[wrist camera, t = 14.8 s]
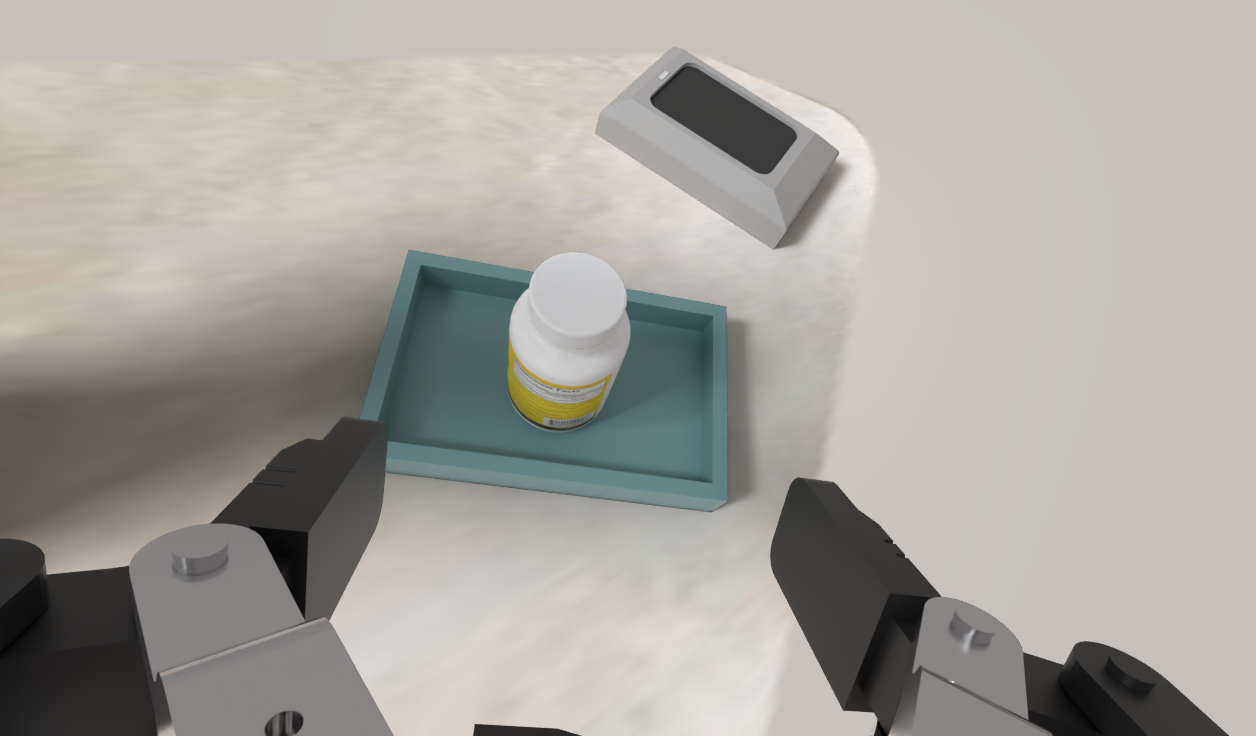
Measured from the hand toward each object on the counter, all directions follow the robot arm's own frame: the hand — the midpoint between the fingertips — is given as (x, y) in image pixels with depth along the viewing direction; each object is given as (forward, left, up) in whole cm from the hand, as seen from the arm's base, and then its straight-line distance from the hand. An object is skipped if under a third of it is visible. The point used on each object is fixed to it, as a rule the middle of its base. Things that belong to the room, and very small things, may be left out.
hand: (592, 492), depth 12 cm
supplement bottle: (0, +10, -19) cm, 21 cm away
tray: (0, +11, -19) cm, 22 cm away
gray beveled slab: (+9, +31, -20) cm, 38 cm away
